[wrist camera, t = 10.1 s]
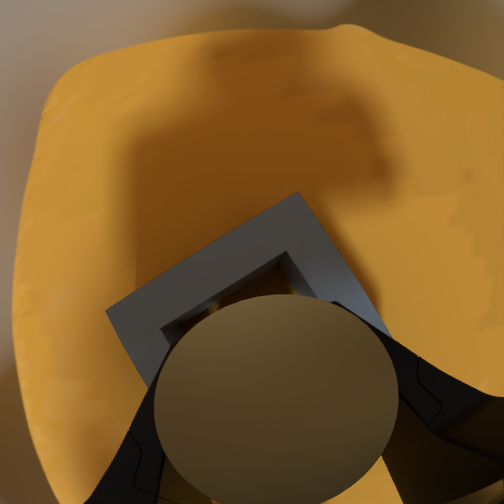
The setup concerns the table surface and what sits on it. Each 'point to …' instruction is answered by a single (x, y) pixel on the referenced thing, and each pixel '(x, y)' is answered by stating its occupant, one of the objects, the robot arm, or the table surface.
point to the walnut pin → (276, 401)
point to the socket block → (237, 280)
